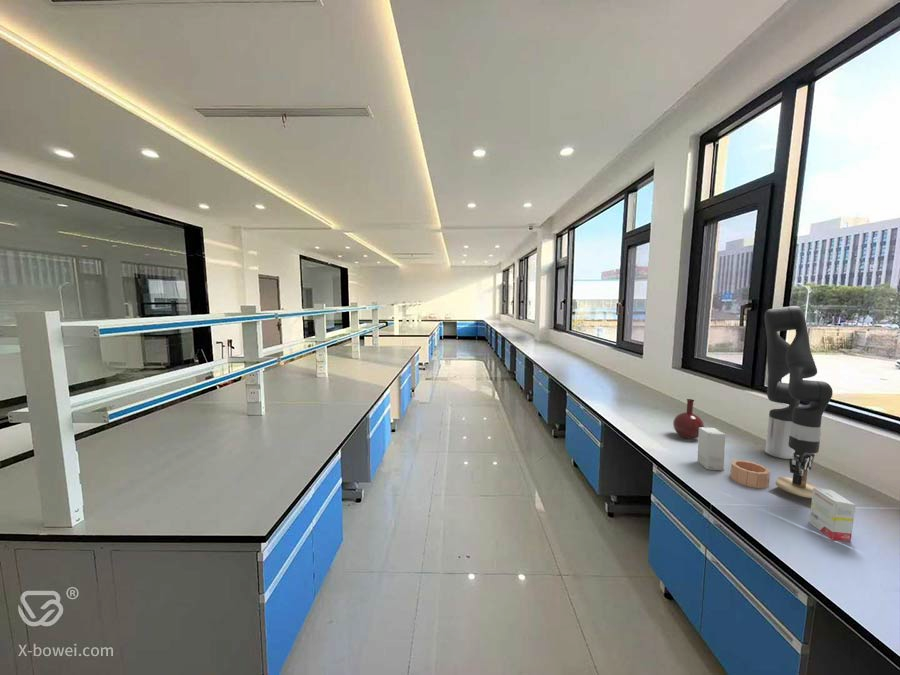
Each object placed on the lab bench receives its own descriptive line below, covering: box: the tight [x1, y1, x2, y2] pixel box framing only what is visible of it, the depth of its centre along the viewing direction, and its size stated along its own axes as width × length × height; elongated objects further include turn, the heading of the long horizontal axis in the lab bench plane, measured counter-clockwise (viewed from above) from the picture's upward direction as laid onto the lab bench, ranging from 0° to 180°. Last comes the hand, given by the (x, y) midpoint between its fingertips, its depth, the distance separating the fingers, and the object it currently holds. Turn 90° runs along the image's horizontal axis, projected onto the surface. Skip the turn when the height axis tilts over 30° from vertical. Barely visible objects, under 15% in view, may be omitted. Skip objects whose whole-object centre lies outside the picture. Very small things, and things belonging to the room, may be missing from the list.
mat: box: [767, 486, 812, 509], centre depth 123 cm, size 12×12×1 cm
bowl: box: [729, 459, 771, 489], centre depth 134 cm, size 11×11×6 cm
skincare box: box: [696, 427, 726, 472], centre depth 146 cm, size 8×7×16 cm
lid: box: [775, 470, 820, 498], centre depth 123 cm, size 12×12×7 cm
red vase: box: [672, 398, 706, 440], centre depth 176 cm, size 13×13×20 cm
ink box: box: [808, 487, 856, 542], centre depth 104 cm, size 9×5×12 cm, turn 168°
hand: (799, 482), depth 123 cm, fingers closed on lid, 3 cm apart
